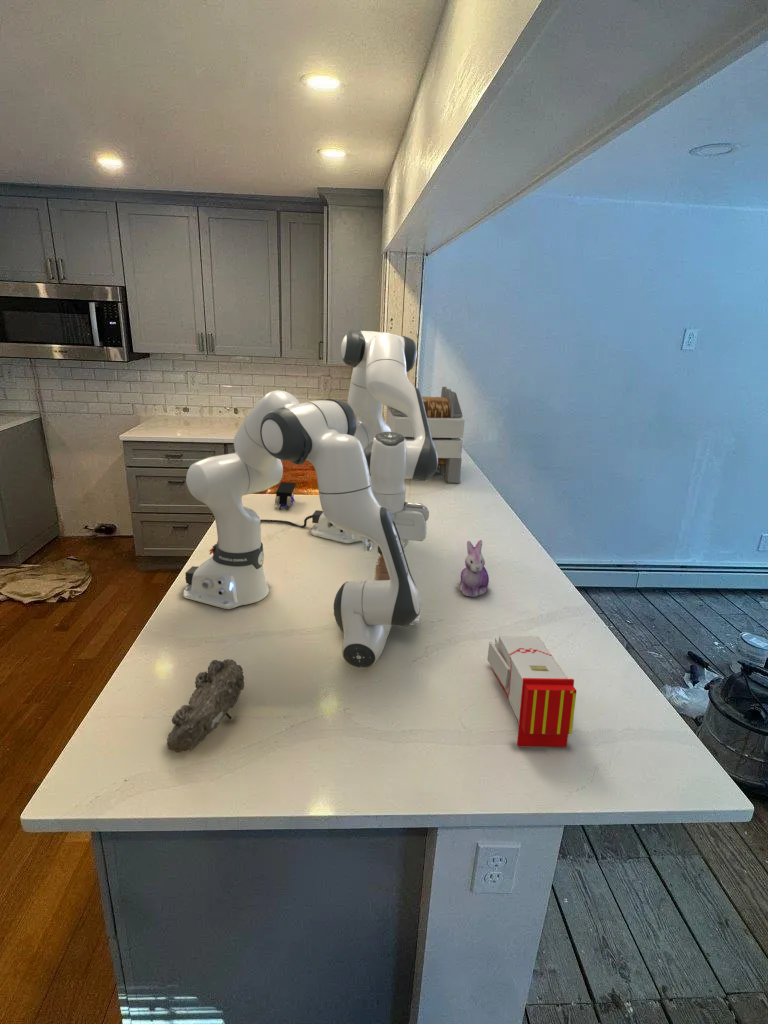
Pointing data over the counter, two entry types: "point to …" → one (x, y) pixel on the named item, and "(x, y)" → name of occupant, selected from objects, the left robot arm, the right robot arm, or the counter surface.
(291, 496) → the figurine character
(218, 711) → the fossil
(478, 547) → the figurine
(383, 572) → the bottle
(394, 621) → the left robot arm
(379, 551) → the cap
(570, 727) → the toy
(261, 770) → the counter surface
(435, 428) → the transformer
